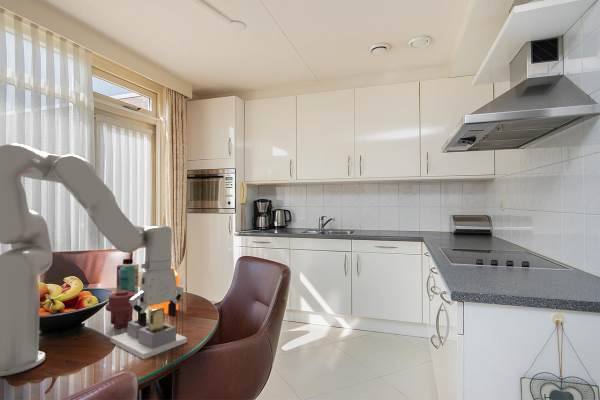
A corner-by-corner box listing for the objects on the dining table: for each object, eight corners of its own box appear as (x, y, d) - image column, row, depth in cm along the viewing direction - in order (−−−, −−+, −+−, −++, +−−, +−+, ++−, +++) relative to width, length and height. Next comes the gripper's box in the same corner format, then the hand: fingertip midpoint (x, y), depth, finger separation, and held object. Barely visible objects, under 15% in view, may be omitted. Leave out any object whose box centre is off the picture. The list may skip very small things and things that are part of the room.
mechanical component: (143, 321, 119) (123, 331, 109) (120, 320, 121) (98, 329, 111) (143, 289, 119) (123, 296, 109) (120, 287, 121) (99, 294, 111)
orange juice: (161, 314, 127) (162, 264, 127) (148, 310, 131) (149, 262, 132) (178, 309, 133) (179, 262, 134) (165, 306, 138) (166, 260, 139)
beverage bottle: (120, 301, 145) (121, 258, 145) (136, 300, 147) (137, 257, 147) (116, 305, 138) (117, 260, 139) (133, 304, 140) (134, 259, 141)
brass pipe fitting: (153, 345, 94) (153, 312, 94) (145, 342, 97) (145, 309, 97) (167, 340, 98) (167, 308, 98) (159, 337, 100) (159, 305, 101)
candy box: (138, 294, 157) (139, 263, 157) (134, 297, 152) (134, 265, 153) (120, 294, 156) (121, 263, 157) (115, 297, 152) (116, 265, 153)
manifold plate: (143, 359, 89) (143, 339, 89) (110, 342, 100) (110, 324, 101) (186, 342, 100) (186, 324, 100) (152, 328, 112) (152, 312, 112)
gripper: (137, 271, 89) (135, 332, 88) (189, 262, 103) (189, 315, 103) (124, 268, 93) (122, 326, 93) (176, 260, 107) (175, 311, 107)
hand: (157, 320), depth 98 cm, fingers open, 9 cm apart
